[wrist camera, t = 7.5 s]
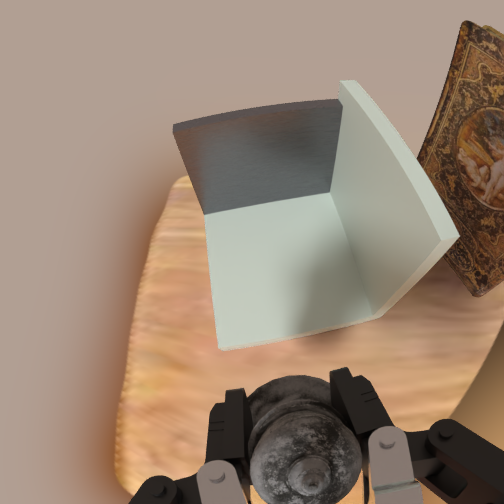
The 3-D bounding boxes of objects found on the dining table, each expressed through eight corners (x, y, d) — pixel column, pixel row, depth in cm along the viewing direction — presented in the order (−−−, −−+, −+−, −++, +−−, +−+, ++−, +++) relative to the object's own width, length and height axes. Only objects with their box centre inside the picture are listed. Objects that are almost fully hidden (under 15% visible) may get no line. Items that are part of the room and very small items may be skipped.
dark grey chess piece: (222, 433, 15) (114, 484, 4) (284, 360, 16) (286, 289, 6) (300, 487, 12) (322, 609, 2) (362, 412, 14) (489, 423, 4)
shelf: (336, 193, 35) (355, 80, 21) (379, 317, 27) (459, 236, 13) (207, 216, 35) (166, 106, 21) (222, 351, 27) (158, 296, 13)
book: (497, 278, 27) (618, 145, 5) (477, 303, 26) (624, 163, 4) (420, 187, 34) (482, 21, 12) (396, 203, 33) (460, 16, 11)
